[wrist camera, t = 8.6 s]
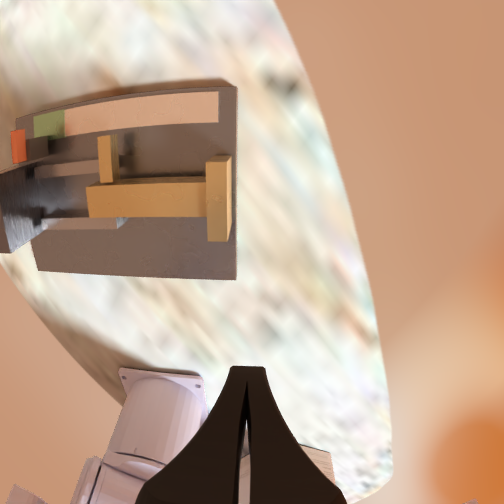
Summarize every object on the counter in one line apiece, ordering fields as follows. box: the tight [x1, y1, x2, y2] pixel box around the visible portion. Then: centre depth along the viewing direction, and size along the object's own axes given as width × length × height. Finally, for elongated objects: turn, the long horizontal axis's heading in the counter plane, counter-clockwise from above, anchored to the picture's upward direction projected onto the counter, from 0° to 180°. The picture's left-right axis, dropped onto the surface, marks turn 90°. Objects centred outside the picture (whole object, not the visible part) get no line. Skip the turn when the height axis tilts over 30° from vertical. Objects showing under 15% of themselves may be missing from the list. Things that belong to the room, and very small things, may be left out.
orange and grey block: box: [11, 129, 49, 164], centre depth 15 cm, size 2×1×3 cm, turn 179°
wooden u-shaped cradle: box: [86, 134, 232, 242], centre depth 16 cm, size 6×8×3 cm
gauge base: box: [0, 87, 238, 280], centre depth 17 cm, size 12×16×5 cm
